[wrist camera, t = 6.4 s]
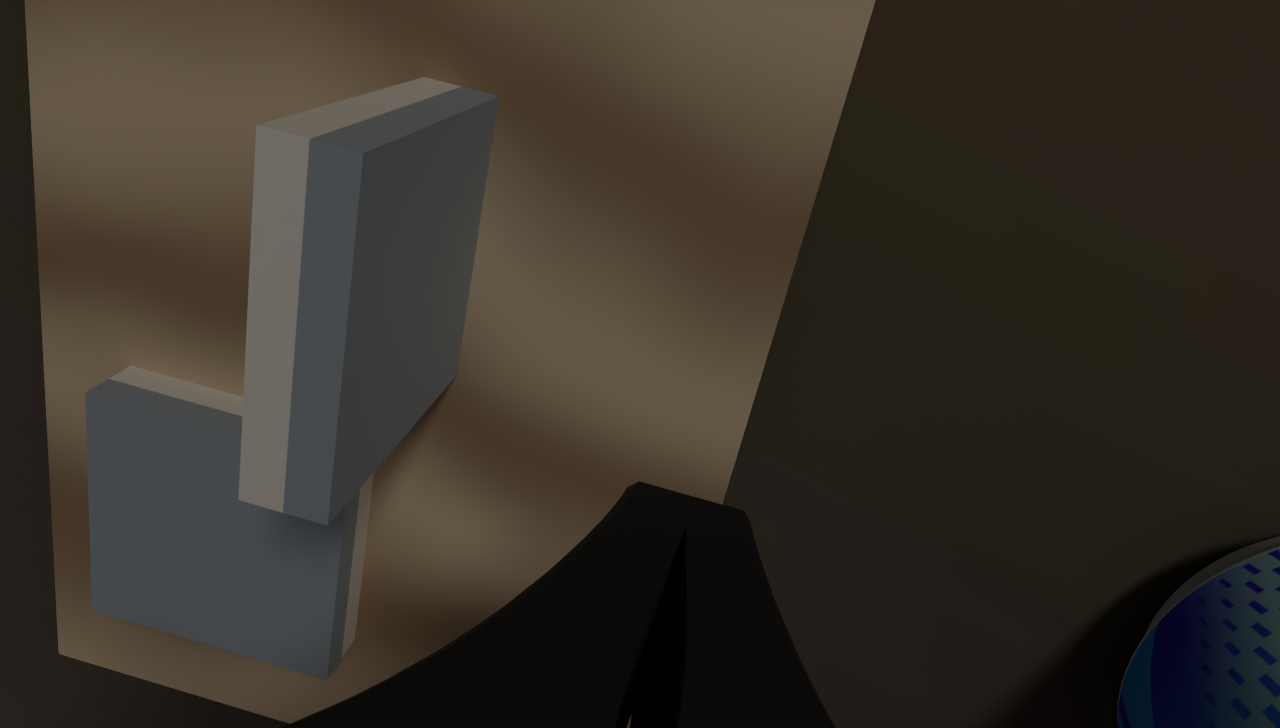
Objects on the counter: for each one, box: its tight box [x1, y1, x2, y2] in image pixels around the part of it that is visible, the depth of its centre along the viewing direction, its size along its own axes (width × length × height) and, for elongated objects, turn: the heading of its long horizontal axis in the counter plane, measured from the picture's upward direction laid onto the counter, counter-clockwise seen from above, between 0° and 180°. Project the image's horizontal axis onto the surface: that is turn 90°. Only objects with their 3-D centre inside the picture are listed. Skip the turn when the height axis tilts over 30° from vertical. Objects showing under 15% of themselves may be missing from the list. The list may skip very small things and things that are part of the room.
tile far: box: [85, 366, 374, 680], centre depth 22 cm, size 6×2×6 cm
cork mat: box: [25, 0, 875, 728], centre depth 21 cm, size 22×16×1 cm
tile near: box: [238, 77, 499, 526], centre depth 16 cm, size 6×2×6 cm, turn 168°
